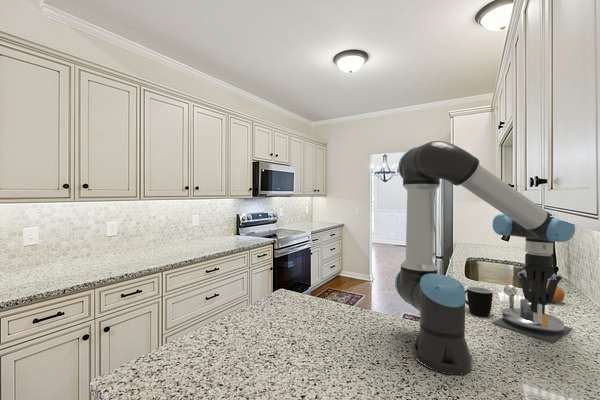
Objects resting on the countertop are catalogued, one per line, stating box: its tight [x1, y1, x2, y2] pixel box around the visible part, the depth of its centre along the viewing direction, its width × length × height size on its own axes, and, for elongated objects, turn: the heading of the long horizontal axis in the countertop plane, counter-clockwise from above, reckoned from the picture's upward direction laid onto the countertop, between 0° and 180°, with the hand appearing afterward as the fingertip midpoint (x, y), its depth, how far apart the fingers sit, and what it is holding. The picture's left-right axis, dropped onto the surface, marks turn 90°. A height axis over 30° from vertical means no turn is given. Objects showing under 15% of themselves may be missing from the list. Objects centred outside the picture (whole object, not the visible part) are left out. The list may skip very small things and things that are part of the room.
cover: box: [519, 298, 535, 322], centre depth 105 cm, size 7×7×7 cm
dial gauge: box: [503, 284, 518, 308], centre depth 120 cm, size 4×4×12 cm
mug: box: [465, 286, 494, 318], centre depth 120 cm, size 12×9×10 cm
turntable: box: [501, 307, 565, 332], centre depth 107 cm, size 18×18×6 cm
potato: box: [546, 285, 565, 303], centre depth 135 cm, size 9×11×8 cm
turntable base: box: [491, 317, 573, 344], centre depth 106 cm, size 20×18×2 cm
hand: (537, 322), depth 99 cm, fingers closed
